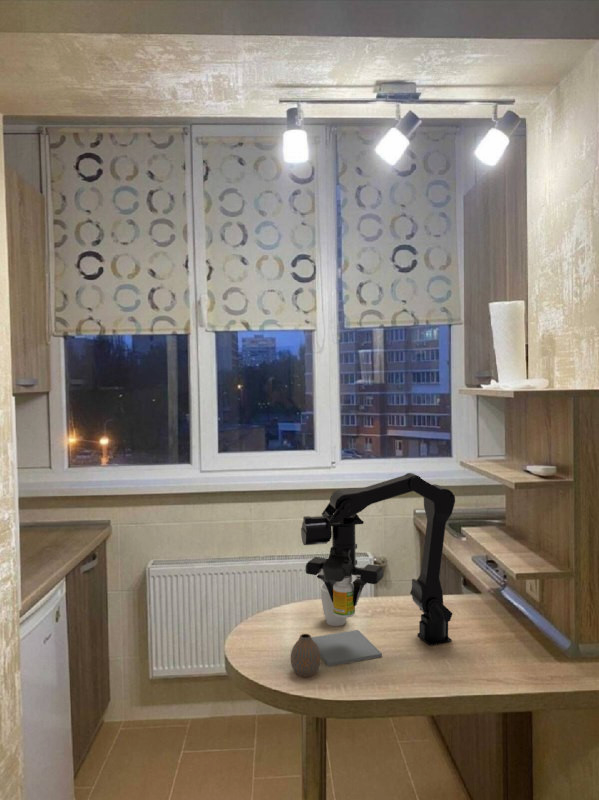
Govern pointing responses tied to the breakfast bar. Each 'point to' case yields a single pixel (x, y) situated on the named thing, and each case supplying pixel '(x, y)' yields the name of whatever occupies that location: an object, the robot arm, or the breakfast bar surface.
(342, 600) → the supplement bottle
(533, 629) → the breakfast bar surface
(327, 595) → the cup
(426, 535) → the robot arm
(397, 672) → the breakfast bar surface
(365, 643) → the slate mat
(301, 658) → the vase
